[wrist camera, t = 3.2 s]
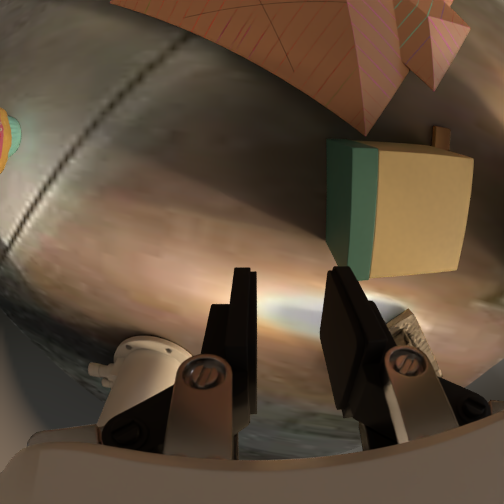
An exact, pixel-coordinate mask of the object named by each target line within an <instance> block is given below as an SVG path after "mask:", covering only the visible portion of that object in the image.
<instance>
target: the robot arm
mask: <svg viewBox="0 0 504 504" xmlns="http://www.w3.org/2000/svg"><path fill="white" fill-rule="evenodd" d="M320 340H321V344H322V349H323V353H324V357H325V361H326V365H327V370H328V374H329V378H330V383H331V387H332V391H333V396H334V400H335V405H336V408H337V410H339V409H342V413H343V418H349V417H353V418H354V419H356V420H357V421H359V431H360V437H361V443H362V448H363V451H362V452H355V453H348V454H341V455H333V456H324V457H314V458H302V459H285V460H239V446H238V432H239V431H241V430H242V429H244V428H245V427H246V426H248V425H249V423H250V414H257V274H256V272H250V268H234V275H233V283H232V290H231V298H230V304H212V305H211V308H210V313H209V317H208V322H207V327H206V331H205V336H204V341H203V346H202V350H201V354H199V355H195V356H192V355H191V354H190V353H188V352H187V351H186V350H184V349H183V348H182V347H180V346H178V345H177V344H175V343H173V342H170V341H168V340H165V339H162V338H158V337H153V336H135V337H131V338H128V339H126V340H124V341H123V342H122V343H120V345H119V346H118V347H117V350H116V352H115V354H114V364H113V363H110V364H109V365H108V366H107V365H103V364H98V363H92V362H91V363H90V364H89V366H88V372H89V375H91V376H96V377H104V378H103V379H102V385H103V386H104V387H110V388H112V389H111V391H110V393H109V396H108V398H107V400H106V403H105V405H104V408H103V410H102V413H101V415H100V418H99V420H98V423H97V424H91V425H85V426H78V427H71V428H62V429H54V430H43V431H40V432H36V433H35V434H34V435H32V436H31V438H30V439H29V441H28V442H27V447H26V448H24V449H22V450H20V451H19V452H18V453H17V454H15V456H14V457H13V458H12V459H11V460H10V462H9V463H8V464H7V466H6V468H5V469H4V470H3V471H2V472H1V473H0V504H504V401H496V400H490V401H489V402H487V401H486V400H485V399H484V398H483V397H482V396H480V395H479V394H477V393H474V392H472V391H470V390H468V389H465V388H463V387H461V386H458V385H456V384H454V383H452V382H449V381H447V380H445V379H443V378H441V377H438V376H437V374H436V372H435V370H434V368H433V366H432V364H431V362H430V360H429V358H428V357H427V355H426V354H425V353H424V352H422V351H421V350H419V349H417V348H415V347H412V346H408V345H399V346H397V345H396V343H395V341H394V339H393V337H392V335H391V333H390V331H389V329H388V327H387V325H386V323H385V321H384V320H383V318H382V316H381V314H380V312H379V310H378V308H377V307H376V305H375V303H374V302H373V301H368V299H367V297H366V295H365V293H364V292H363V290H362V288H361V286H360V284H359V282H358V280H357V279H356V277H355V275H354V273H353V271H352V270H351V268H350V267H349V266H334V267H333V270H332V271H328V273H327V280H326V289H325V297H324V304H323V312H322V319H321V326H320ZM105 377H106V378H105Z"/></svg>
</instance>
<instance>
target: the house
mask: <svg viewBox="0 0 504 504" xmlns="http://www.w3.org/2000/svg"><path fill="white" fill-rule="evenodd" d="M453 1H454V0H111V1H110V3H111V4H114V5H118V6H121V7H124V8H127V9H131V10H134V11H137V12H140V13H143V14H146V15H149V16H151V17H154V18H157V19H160V20H162V21H165V22H168V23H170V24H173V25H175V26H178V27H180V28H182V29H185V30H187V31H190V32H192V33H194V34H197V35H199V36H201V37H203V38H205V39H208V40H210V41H212V42H214V43H216V44H218V45H220V46H222V47H224V48H226V49H228V50H230V51H232V52H234V53H236V54H238V55H240V56H242V57H244V58H246V59H248V60H250V61H252V62H253V63H255V64H257V65H259V66H261V67H262V68H264V69H266V70H268V71H269V72H271V73H273V74H275V75H276V76H278V77H280V78H281V79H283V80H285V81H286V82H288V83H289V84H291V85H293V86H294V87H296V88H297V89H299V90H301V91H302V92H304V93H305V94H307V95H308V96H310V97H311V98H313V99H314V100H316V101H317V102H319V103H320V104H322V105H323V106H325V107H326V108H328V109H329V110H330V111H332V112H333V113H335V114H336V115H337V116H339V117H340V118H342V119H343V120H344V121H346V122H347V123H348V124H350V125H351V126H352V127H354V128H355V129H356V130H358V131H359V132H360V133H362V134H363V135H364V136H365V137H366V136H367V134H368V133H369V131H370V130H371V128H372V127H373V125H374V124H375V122H376V121H377V119H378V118H379V116H380V115H381V113H382V112H383V110H384V109H385V107H386V106H387V104H388V103H389V101H390V100H391V98H392V97H393V95H394V94H395V92H396V91H397V89H398V88H399V86H400V85H401V83H402V81H403V80H404V78H405V77H406V75H407V74H408V72H409V71H410V70H411V71H413V72H414V73H415V74H416V75H417V76H418V77H419V78H420V79H421V80H422V81H423V82H424V83H425V84H426V85H427V86H429V87H430V88H431V89H432V90H433V91H435V89H436V88H437V86H438V85H439V83H440V81H441V80H442V78H443V76H444V75H445V73H446V71H447V69H448V68H449V66H450V64H451V63H452V61H453V59H454V57H455V56H456V54H457V52H458V50H459V49H460V47H461V45H462V43H463V42H464V40H465V38H466V36H467V34H468V32H469V31H470V29H471V28H470V27H469V26H468V25H467V24H466V23H465V22H464V21H463V20H462V19H461V18H460V17H459V16H458V15H457V14H456V13H455V12H454V11H453V10H452V9H451V8H450V6H451V4H452V2H453Z"/></svg>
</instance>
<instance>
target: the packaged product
mask: <svg viewBox="0 0 504 504" xmlns="http://www.w3.org/2000/svg"><path fill="white" fill-rule="evenodd" d="M386 325H387V327H388V329H389V331H390V333H391V335H392V337H393V339H394V341H395V343H396V345H397V346H399V345H408V346H412V347H415V348H417V349H419V350H421V351H422V352H424V353H425V354H426V355H427V357H428V358H429V360H430V362H431V364H432V366H433V368H434V370H435V372H436V374H437V376H438V377H441V378H442V377H443V376H442V373H441V371H440V369H439V367H438V364H437V362H436V360H435V357H434V355H433V353H432V351H431V348H430V346H429V344H428V342H427V340H426V338H425V336H424V334H423V332H422V330H421V328H420V326H419V324H418V321H417V319H416V317H415V316H414V314H413V313H412V312H411V311H410V310H409V309H407V310H406V311H404V312H403V313H401V314H400V315H398V316H397V317H396V318H394V319H393V320H391V321H390V322H388V323H387V324H386Z"/></svg>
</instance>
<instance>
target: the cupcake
mask: <svg viewBox="0 0 504 504" xmlns="http://www.w3.org/2000/svg"><path fill="white" fill-rule="evenodd" d="M20 141H21V128H20V125H19V123H18V121H17V120H16V119H15V118H13V117H10V116H7V113H6V111H5V110H4V109H2V108H0V174H1V173H2V171H3V170H4V168H5V164H6V162H7V159H8V158H9V157H10V156H11V155H13V154H14V153H15V152H16V151H17V149H18V147H19V145H20Z"/></svg>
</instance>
